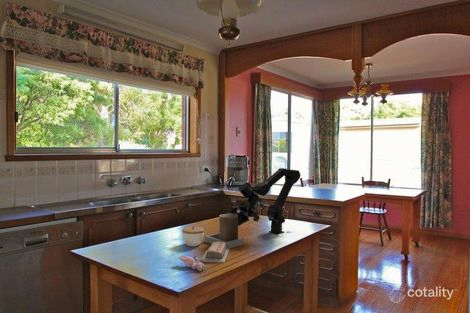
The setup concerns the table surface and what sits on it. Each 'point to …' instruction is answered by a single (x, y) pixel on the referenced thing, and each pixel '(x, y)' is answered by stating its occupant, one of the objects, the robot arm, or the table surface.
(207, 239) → the bay
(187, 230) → the lidded jar
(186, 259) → the rabbit figure
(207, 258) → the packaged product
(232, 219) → the pillar candle
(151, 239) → the table surface
